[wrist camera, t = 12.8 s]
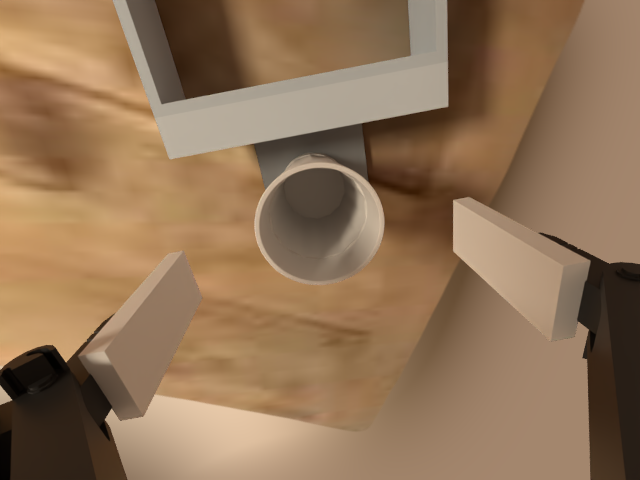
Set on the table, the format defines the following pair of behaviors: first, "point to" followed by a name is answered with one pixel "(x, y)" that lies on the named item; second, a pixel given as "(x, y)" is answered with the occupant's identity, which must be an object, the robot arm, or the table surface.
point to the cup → (319, 221)
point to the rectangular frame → (287, 88)
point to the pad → (313, 150)
